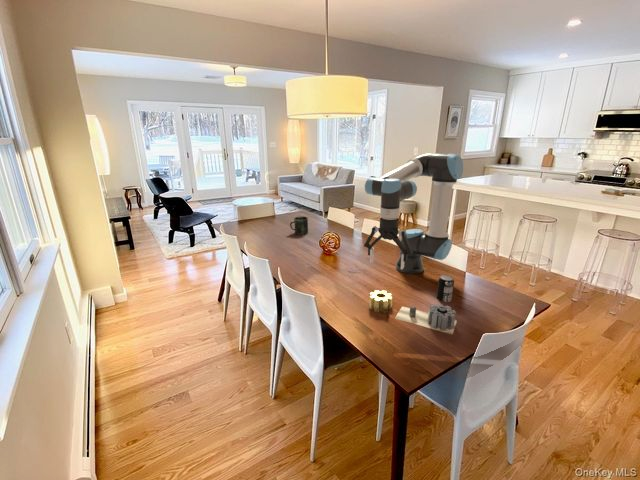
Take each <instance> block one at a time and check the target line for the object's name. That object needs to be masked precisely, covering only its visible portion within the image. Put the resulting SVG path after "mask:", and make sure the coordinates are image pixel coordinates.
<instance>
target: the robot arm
mask: <svg viewBox="0 0 640 480" xmlns="http://www.w3.org/2000/svg"><path fill="white" fill-rule="evenodd" d="M463 172H464V162H463V159H462V157H461V156H460V155H459V154H455V153H436V152H435V153H434V152H433V153H432V152H430V153H429V152H428V153H423V154H420V155H418V156H415V157H412V158H411V159H409V160H408V161H406V163H405V164H404V165H403V164H402V165H401V166H399V167H397V168H395V169H393V170H392V171H391V170H390V171H389V172H388V173H386V174H383V175H381V176H379V177H369V178H368V179H366V181H365V183H364V190H365V193H366V194H367V195H372V196H376V197H377V196H379V197H380V212H379V213H380V214H379V215H380V216H379V217H380V218H379V227H377V226H376V225H374V226H373V227H371V232H370V233H369V236H368V238H367V239H366V241H365V242H364V244H363V247H365V248H367V255H368V256H369V264H372V263H374V257H375V256H374V254H375V247H374V246H375V245H376V244H377V243H378V242H379V241H380V240H381V239H383V240H389V241H393V242H394V243H395V244H396V245H397V247H398V249H399V250H400V253H399V254H400V255H399V257H398V259H397V261H396V264H395V268H396V270H397V271H399V272H400V273H403V274H409V275H416V274H417V275H418V274H420V273H422V272H423V271H424V263H423V260H422V256H423V257H426V258H430V259H433V260H437V261H443V260H445V259H447V257H448V255H449V254H450V251H451V249H452V247H453V242H452V240H451V239H449V237H450V236H449V233H448V232H447V227H448V222H449V214H450V207H451V200H452V193H453V188H454V185H455V184H456V183H458V182H457V181H458V180H459V179H461V178H462V175H463ZM418 177H431V182H432V183H433V185H434V187H433V194H432V202H431V211H430V219H429V225H428V226H429V227H428V230H427V231H426V232H424V230H423V229H419V228H411V229H410V228H409V229H406V230H405V229H402V230H399V221H400V220H399V217H400V207H401V205H400V204H401V201H405V200H409V199H411V198H412V197H414V196H415V195H416V194H417V191H418V187H417V185H416V182H414V181H413V180H411V179H413V178H414V179H415V178H418ZM377 232H378V233H379V234H380V235H378V237H376V239H374V241H372V239H373V238H374V236H375V234H376V233H377ZM398 235H400V237H399V236H398ZM371 241H372V242H371Z"/></svg>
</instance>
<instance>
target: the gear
mask: <svg viewBox="0 0 640 480" xmlns="http://www.w3.org/2000/svg"><path fill="white" fill-rule="evenodd" d="M427 313H428V324H431V327H433V328H434V329H436V328H440V330H441V331H446V329H449V330H451V329H453V326H454V322H455V320H456V314H457V313H456V310H455V309H452V307H451V306H449V305H443V304H441V303H437V304H436V305H434V304H432V305H430V306H429V308H428V312H427ZM434 329H433V330H434ZM441 331H440V332H441Z"/></svg>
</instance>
